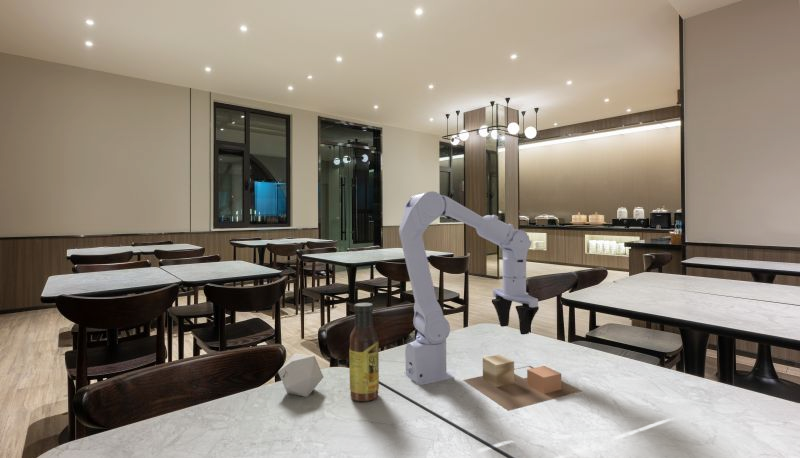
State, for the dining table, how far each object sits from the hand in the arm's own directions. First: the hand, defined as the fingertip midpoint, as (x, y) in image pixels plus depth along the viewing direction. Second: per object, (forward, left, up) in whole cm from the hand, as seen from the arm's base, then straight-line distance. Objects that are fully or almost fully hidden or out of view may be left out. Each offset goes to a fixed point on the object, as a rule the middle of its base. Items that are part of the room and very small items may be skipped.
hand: (514, 329), depth 101 cm
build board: (-7, -10, -9) cm, 16 cm away
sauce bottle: (-40, +1, -10) cm, 41 cm away
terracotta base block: (-3, -13, -9) cm, 16 cm away
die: (-52, +9, -10) cm, 54 cm away
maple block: (-10, -6, -9) cm, 15 cm away
